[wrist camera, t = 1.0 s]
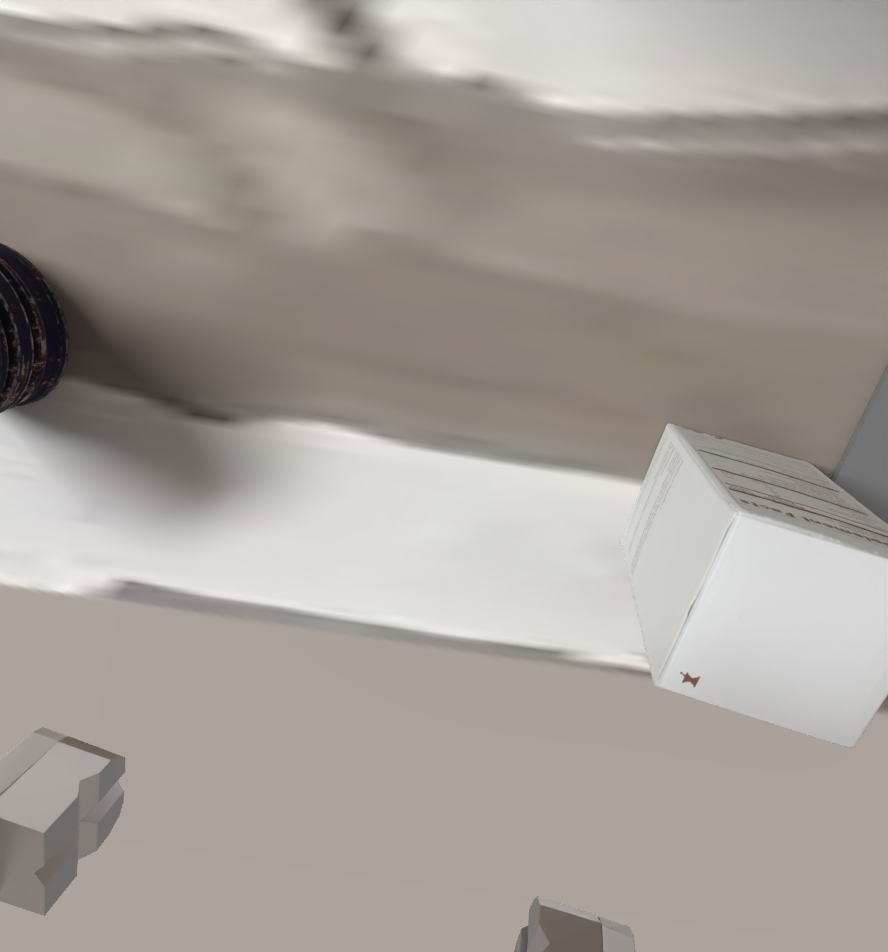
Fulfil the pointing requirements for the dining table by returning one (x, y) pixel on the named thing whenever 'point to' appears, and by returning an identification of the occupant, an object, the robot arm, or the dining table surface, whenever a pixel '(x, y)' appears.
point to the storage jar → (28, 333)
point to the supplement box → (760, 586)
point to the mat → (869, 456)
